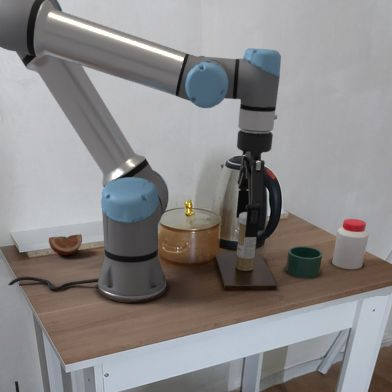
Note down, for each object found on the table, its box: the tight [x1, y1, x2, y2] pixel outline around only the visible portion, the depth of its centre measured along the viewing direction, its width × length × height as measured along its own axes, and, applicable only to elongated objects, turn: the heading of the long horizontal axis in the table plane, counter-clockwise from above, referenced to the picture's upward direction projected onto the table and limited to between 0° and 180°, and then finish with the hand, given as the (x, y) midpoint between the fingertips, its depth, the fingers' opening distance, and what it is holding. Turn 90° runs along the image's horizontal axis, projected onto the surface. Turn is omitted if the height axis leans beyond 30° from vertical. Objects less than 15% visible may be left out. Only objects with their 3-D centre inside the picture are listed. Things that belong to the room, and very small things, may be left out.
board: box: [214, 252, 278, 291], centre depth 136 cm, size 12×20×1 cm, turn 5°
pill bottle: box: [331, 218, 370, 270], centre depth 141 cm, size 8×8×11 cm
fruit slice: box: [48, 234, 83, 256], centre depth 141 cm, size 8×7×5 cm
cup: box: [285, 245, 324, 279], centre depth 137 cm, size 8×8×5 cm
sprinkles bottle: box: [235, 212, 257, 271], centre depth 132 cm, size 5×5×14 cm
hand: (246, 226), depth 130 cm, fingers open, 13 cm apart
